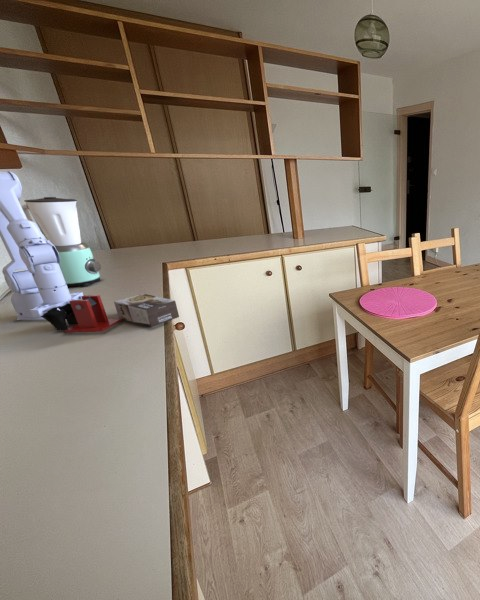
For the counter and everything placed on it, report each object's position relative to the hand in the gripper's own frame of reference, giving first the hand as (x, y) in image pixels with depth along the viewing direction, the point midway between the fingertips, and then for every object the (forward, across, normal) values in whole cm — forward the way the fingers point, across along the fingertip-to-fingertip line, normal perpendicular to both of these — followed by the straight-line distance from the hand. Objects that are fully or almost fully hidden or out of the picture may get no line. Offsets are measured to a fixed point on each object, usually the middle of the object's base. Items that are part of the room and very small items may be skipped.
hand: (69, 328), depth 95 cm
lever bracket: (0, 0, -7) cm, 7 cm away
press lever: (-5, 0, -4) cm, 7 cm away
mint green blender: (0, +44, +32) cm, 54 cm away
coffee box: (-3, +10, -12) cm, 16 cm away
